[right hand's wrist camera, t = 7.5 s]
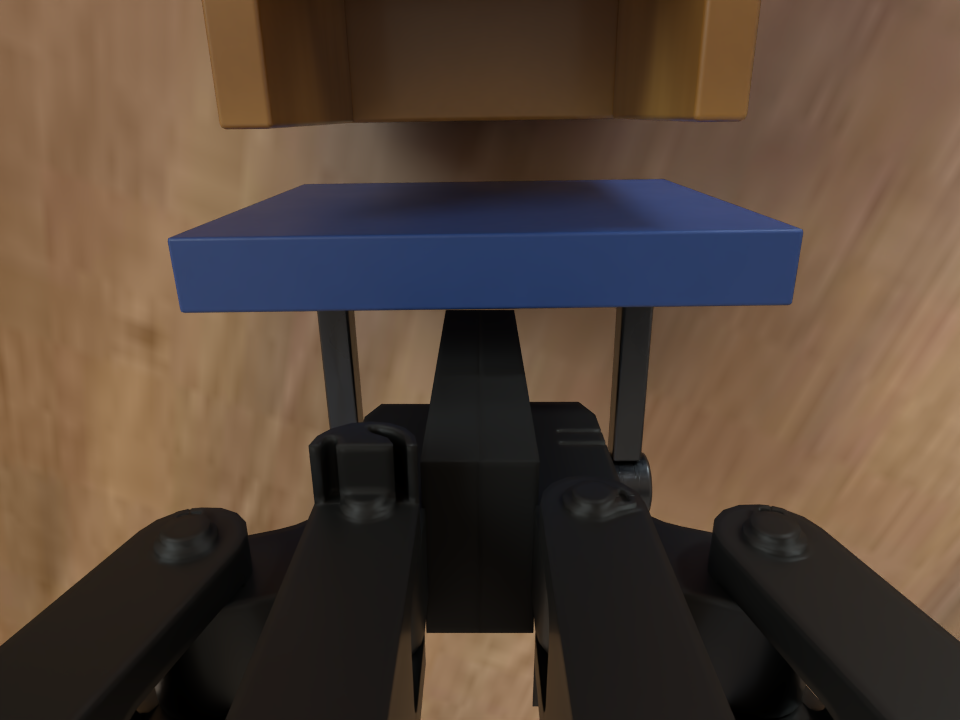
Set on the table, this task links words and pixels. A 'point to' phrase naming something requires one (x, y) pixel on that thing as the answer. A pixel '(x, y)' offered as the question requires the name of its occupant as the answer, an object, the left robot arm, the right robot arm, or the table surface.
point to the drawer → (485, 205)
